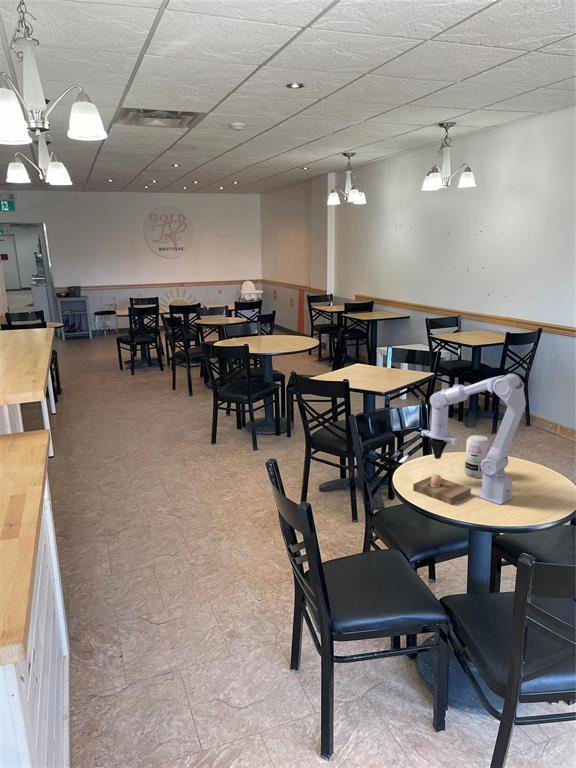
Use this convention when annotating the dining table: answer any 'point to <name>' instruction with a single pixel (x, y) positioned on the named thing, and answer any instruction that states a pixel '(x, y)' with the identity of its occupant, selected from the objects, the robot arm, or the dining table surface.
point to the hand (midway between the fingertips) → (437, 458)
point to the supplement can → (475, 455)
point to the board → (442, 490)
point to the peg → (435, 481)
